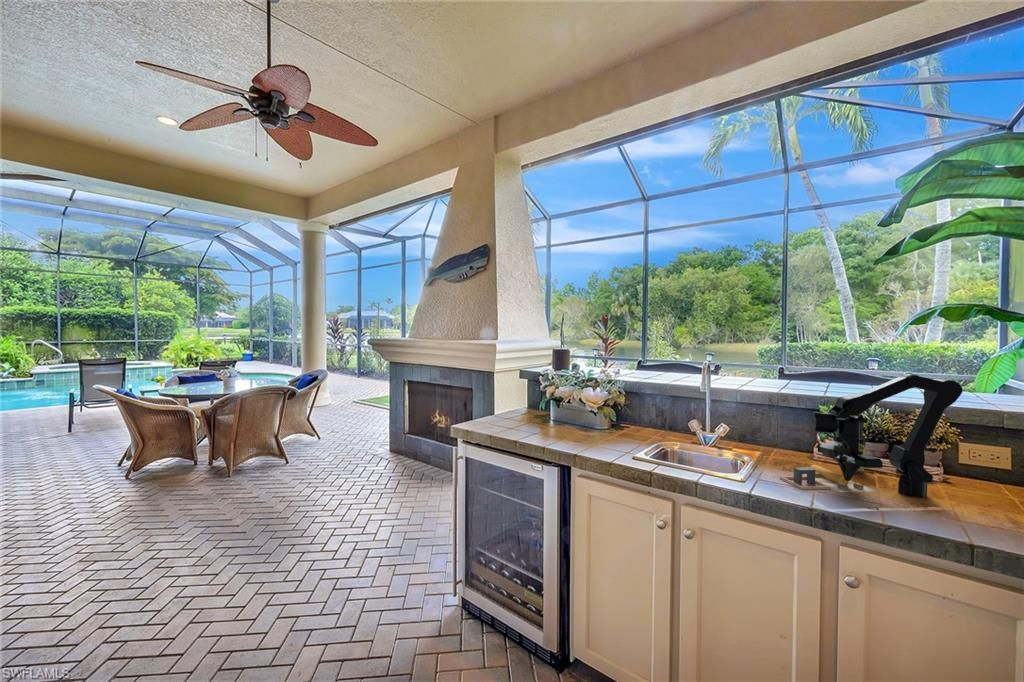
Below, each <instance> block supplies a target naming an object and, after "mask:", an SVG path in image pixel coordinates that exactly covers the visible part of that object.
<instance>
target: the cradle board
mask: <svg viewBox="0 0 1024 682" xmlns="http://www.w3.org/2000/svg"><path fill="white" fill-rule="evenodd" d="M802 476H807V474H802ZM815 480H817V481H819V482H821V483H823V484H826V485H828V486H830V487H831V490H835V491H837V493H838V492H839V493H871V492H872V493H876V492H878V491H877V490H875V489H872V488H870V487H867V486H866V485H864V484H862V483H859V482H855V481H853V480H850V481H849V484H848V485H846V484H843V483H836V482H834V481H832V480H829V479H827V478H825V477H822V476H820V473H817V472H815Z"/></svg>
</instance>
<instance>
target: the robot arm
mask: <svg viewBox="0 0 1024 682" xmlns="http://www.w3.org/2000/svg"><path fill="white" fill-rule="evenodd" d="M912 388H916V389H920V390H923V401H924V402H923V406H922V408H921V409H920V411H919V413H918V415H917V417H916V420H915V421H914V423H913V425H912V426H911V429H910V431H909V434H907V435H908V436H907V437H906V439H905V441H904V442H903V444H900V445H896V444H893V445H892V448H891V451H890V452H889V453H888V456H889V460H888V461H889V462H890V465H891V466H892V467H893V468H895V471H896V473H897V474H899V477H898V478H899V479H898V482H897V483H898V486H897V493H898V494H900V495H901V496H902V495H903V496H905V497H910V498H911V497H912V498H919V499H925V498H926V497H927V496H928V483H929V484H931V483H932V481H933V479H934V476H933V474H931V473H930V472H928V470H927V469H925V468H924V467H925V464H926V454H925V450H926V448H927V446H928V443H929V441H930V440H931V437H932V435H933V434H934V431H935V430H936V427H937V426H938V424H939V422H940V420H941V418H942V416H943V414H944V412H945V410H946V409H947V408H949V407H950V406H951V405H953V404H954V403H956V401H957V400H958V399H959V398H960V396H961V395H962V394H963V392H964V391H963V387H962V386H961V384H960V383H959V382H957V381H955V380H952V379H947V378H946V379H945V378H940V377H939V378H938V377H937V378H927V377H924V376H920V375H917V374H913V373H903V374H901V375H900V376H899V377H896V378H894V379H891V380H889V381H886V382H885V383H882V384H879V385H876V386H874V387H873V388H870V389H867V390H865V391H862V392H856V393H850V394H846V395H842V396H840V397H838V398H837V399H836V402H835V404H834V406H832V407H831V408H830V410H828V411H827V412H818V411H812V415H811V417H810V419H809V428H810V431H811V432H812V433H814V432H815V433H823V434H834V433H835V432H837V435H834V436H833V438H832V439H833V440H831V441H827V442H825V443H820V444H819V445H818V446H817V452H818V453H821V454H822V455H823V456H826V457H829V458H831V459H832V460H834V461H835V462H836V463H838V466H839V467H840V470H841V473H842V476H844V478H845V480H846V481H852V479H853V477H854V476H855V474H857V473H856V471H857V470H858V469H859V468H860V467H864V469H883V461H882V459H880V458H878V457H875V456H872V455H865V456H859V455H863V451H859V443H860V442H863V439H860V422H863V423H864V424H865V423H866V424H867V423H869V420H867V419H866V418H865V417H864V416H863V415H862V414H863V413H864V412H867V410H869V409H870V408H871V407H872V406H873V405H875V404H876V403H879V402H882V401H884V400H885V399H889V398H890V397H893V396H896V395H898V394H901V393H903V392H905V391H907V390H910V389H912Z"/></svg>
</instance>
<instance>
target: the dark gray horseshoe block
mask: <svg viewBox="0 0 1024 682" xmlns="http://www.w3.org/2000/svg"><path fill="white" fill-rule="evenodd" d="M815 472H816V470H815V469H812V468H810V467H794V468H793V476H794V479H793V482H795V483H797V484H799V485H801V486H803V479H802V476H803V475H802V474H807V479H806V483H807V484H809V485H810V486H816V483H815Z"/></svg>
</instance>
